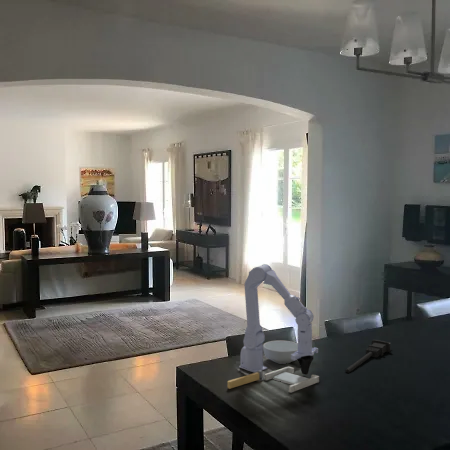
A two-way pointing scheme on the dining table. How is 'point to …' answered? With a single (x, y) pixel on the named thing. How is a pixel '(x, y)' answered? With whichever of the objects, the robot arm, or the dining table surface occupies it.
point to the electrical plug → (372, 353)
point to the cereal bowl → (280, 351)
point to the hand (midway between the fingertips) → (304, 373)
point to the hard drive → (289, 378)
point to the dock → (293, 387)
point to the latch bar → (245, 379)
